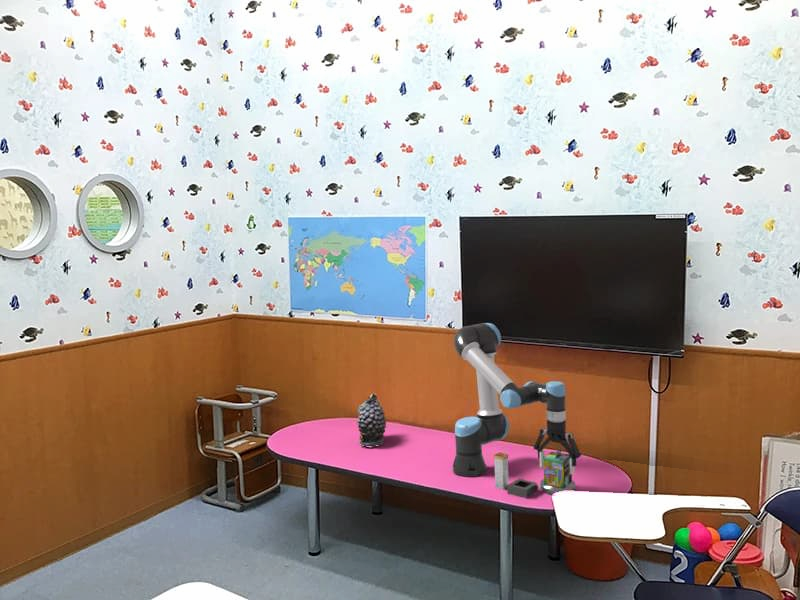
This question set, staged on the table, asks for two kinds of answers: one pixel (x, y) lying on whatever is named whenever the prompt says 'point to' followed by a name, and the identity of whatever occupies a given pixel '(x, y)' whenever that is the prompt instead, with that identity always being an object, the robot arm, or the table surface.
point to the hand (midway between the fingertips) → (557, 470)
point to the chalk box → (557, 469)
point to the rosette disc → (553, 489)
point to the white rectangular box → (501, 470)
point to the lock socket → (522, 488)
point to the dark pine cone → (371, 422)
